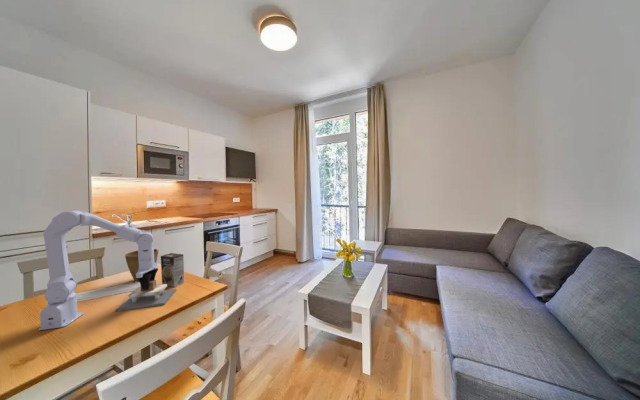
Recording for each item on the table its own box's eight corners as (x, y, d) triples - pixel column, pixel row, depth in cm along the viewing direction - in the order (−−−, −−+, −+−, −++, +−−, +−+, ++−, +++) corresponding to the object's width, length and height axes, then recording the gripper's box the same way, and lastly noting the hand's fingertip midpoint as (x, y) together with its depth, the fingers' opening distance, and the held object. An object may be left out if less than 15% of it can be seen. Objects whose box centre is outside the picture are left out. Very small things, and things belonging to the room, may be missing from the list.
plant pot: (147, 284, 119) (146, 255, 118) (119, 285, 118) (117, 256, 117) (165, 273, 133) (164, 248, 133) (140, 274, 133) (138, 248, 132)
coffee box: (161, 285, 117) (159, 256, 116) (172, 280, 123) (171, 252, 122) (174, 287, 115) (172, 257, 114) (185, 282, 121) (183, 253, 120)
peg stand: (164, 304, 97) (164, 296, 97) (116, 311, 92) (115, 302, 92) (176, 290, 111) (176, 283, 110) (134, 295, 106) (134, 287, 106)
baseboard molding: (142, 291, 112) (146, 282, 122) (142, 285, 112) (146, 277, 122) (53, 309, 96) (66, 298, 106) (52, 303, 96) (66, 292, 106)
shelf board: (128, 297, 96) (127, 287, 96) (138, 289, 104) (137, 280, 103) (159, 293, 99) (159, 283, 99) (167, 286, 107) (166, 277, 107)
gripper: (148, 262, 95) (150, 292, 95) (163, 253, 109) (164, 279, 109) (129, 264, 93) (131, 295, 93) (146, 254, 107) (148, 281, 107)
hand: (148, 287), depth 101 cm, fingers open, 4 cm apart
